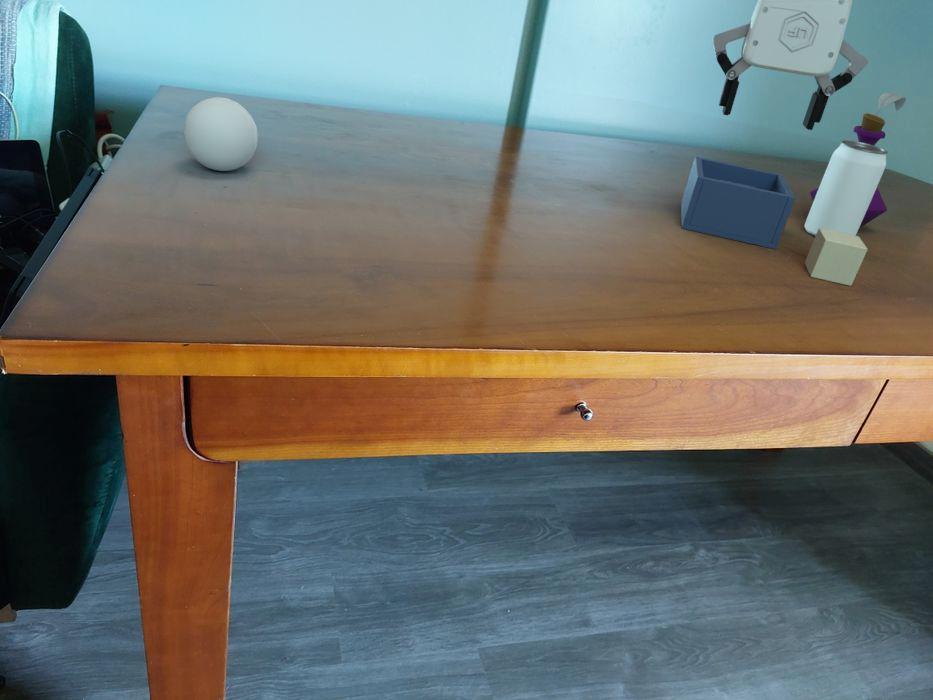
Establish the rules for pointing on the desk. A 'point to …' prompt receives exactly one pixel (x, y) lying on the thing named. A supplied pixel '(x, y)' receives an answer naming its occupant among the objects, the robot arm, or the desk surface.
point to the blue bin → (736, 202)
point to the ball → (220, 134)
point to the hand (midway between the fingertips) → (766, 120)
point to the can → (846, 188)
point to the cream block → (835, 256)
